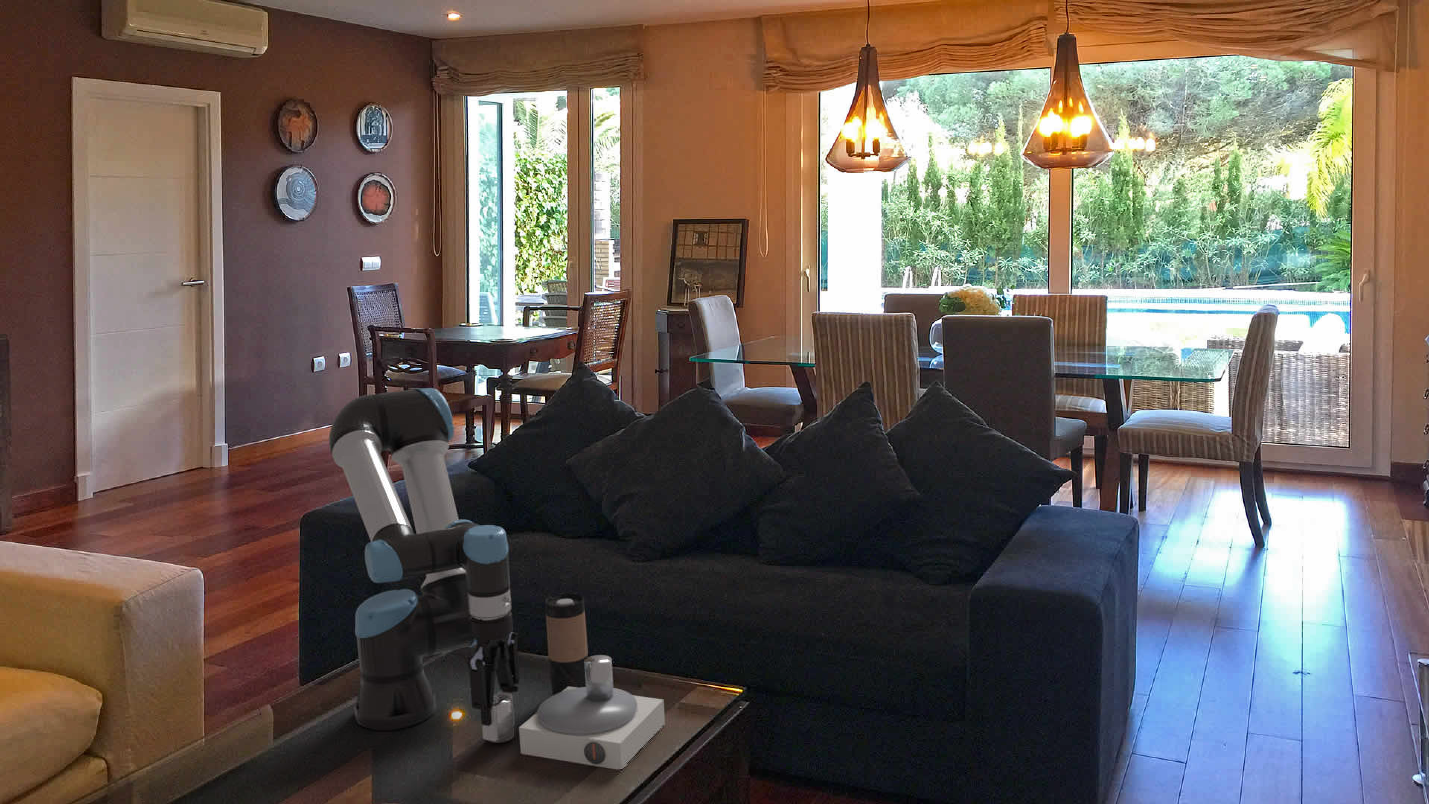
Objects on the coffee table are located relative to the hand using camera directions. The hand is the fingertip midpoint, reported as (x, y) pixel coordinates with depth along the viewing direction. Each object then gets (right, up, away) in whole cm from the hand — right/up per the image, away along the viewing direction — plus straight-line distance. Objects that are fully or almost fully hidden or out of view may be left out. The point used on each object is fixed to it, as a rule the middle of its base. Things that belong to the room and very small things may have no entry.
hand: (498, 732), depth 221 cm
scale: (+17, -1, -1) cm, 18 cm away
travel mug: (+11, +2, +18) cm, 21 cm away
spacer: (0, -1, 0) cm, 1 cm away
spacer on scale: (+18, +6, +3) cm, 19 cm away
